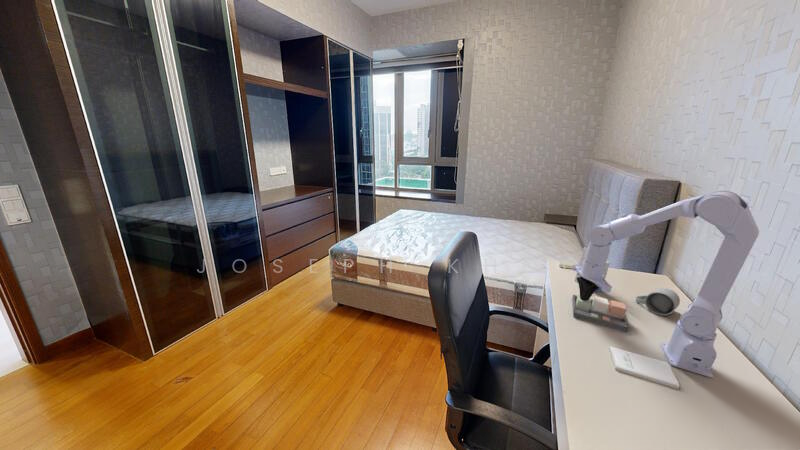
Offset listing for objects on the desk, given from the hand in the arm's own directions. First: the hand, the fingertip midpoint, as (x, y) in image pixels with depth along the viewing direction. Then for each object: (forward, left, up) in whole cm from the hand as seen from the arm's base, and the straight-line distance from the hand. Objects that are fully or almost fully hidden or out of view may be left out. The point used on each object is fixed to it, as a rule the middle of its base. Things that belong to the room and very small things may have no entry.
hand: (584, 299), depth 95 cm
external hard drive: (-21, -12, -5) cm, 25 cm away
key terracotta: (0, -9, -2) cm, 9 cm away
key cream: (0, -4, -2) cm, 5 cm away
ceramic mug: (+14, -22, -4) cm, 27 cm away
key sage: (0, 0, -3) cm, 3 cm away
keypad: (0, -5, -4) cm, 6 cm away
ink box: (+20, -3, -4) cm, 21 cm away
